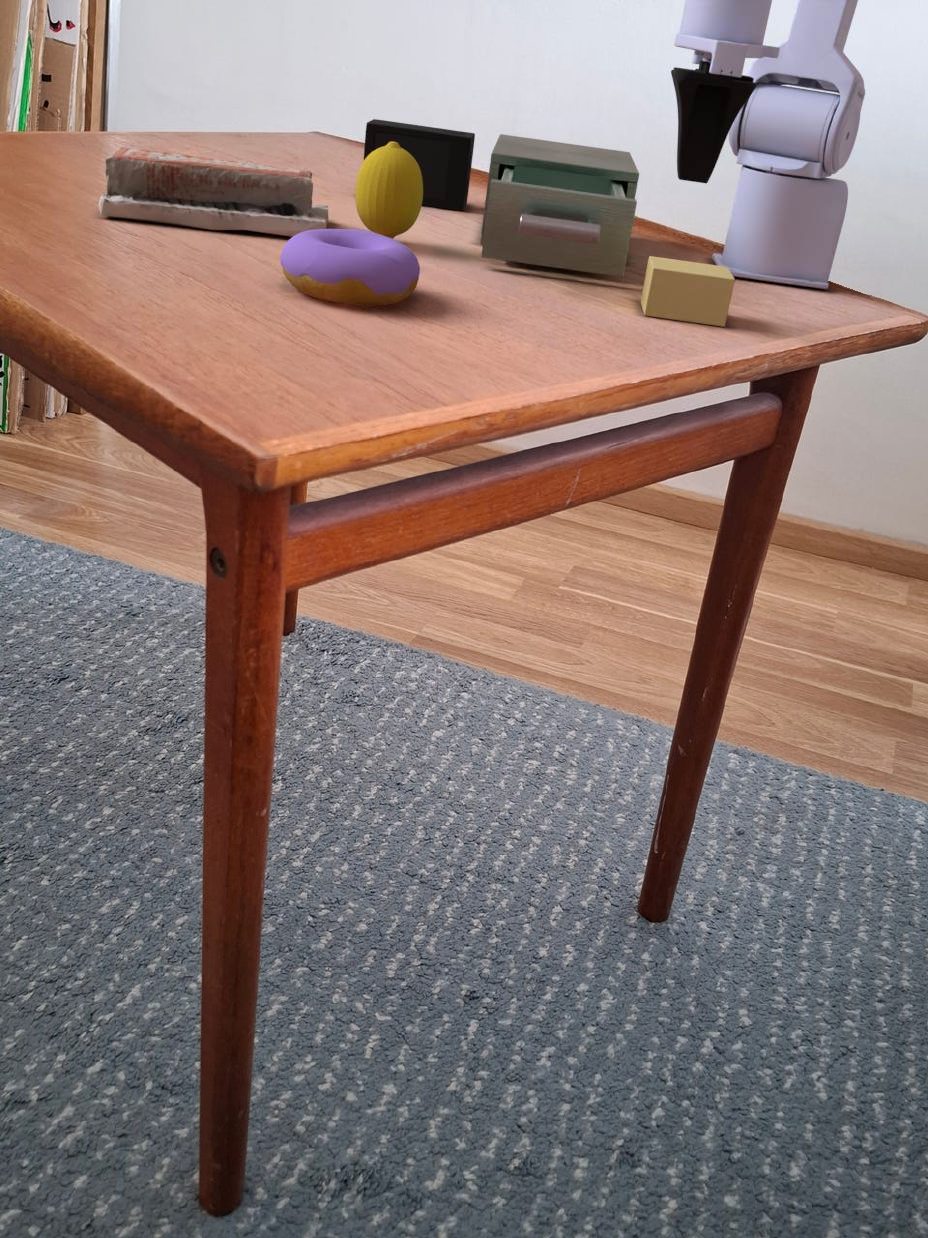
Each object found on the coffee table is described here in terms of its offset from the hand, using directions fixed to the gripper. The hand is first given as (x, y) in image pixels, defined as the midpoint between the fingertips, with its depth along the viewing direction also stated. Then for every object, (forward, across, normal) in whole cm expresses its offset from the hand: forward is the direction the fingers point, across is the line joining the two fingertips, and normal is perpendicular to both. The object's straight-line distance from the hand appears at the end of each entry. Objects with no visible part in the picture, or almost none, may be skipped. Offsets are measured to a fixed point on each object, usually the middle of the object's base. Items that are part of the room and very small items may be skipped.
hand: (692, 180), depth 86 cm
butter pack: (+9, 0, -1) cm, 9 cm away
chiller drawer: (+9, +10, +9) cm, 16 cm away
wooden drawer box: (+9, +23, +9) cm, 27 cm away
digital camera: (+10, +34, +23) cm, 43 cm away
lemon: (+10, +10, +23) cm, 27 cm away
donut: (+10, -9, +23) cm, 26 cm away
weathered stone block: (+10, +10, +37) cm, 40 cm away
